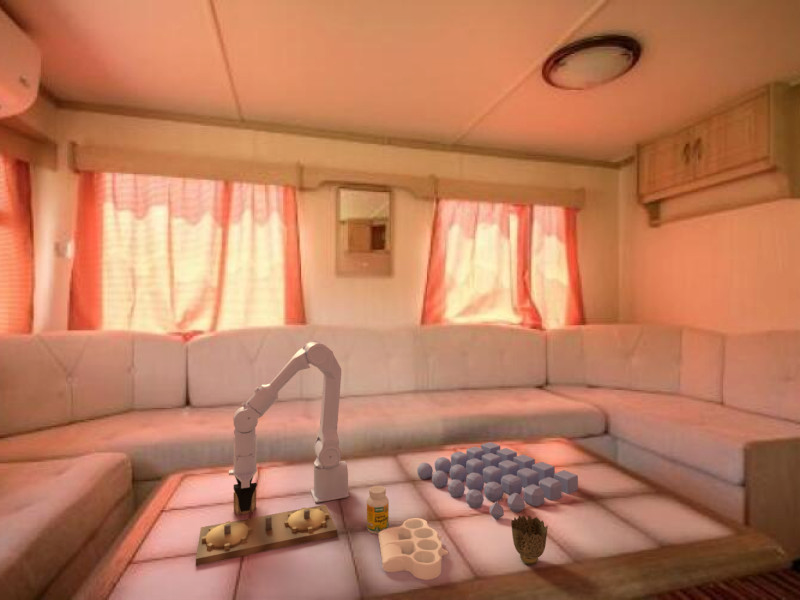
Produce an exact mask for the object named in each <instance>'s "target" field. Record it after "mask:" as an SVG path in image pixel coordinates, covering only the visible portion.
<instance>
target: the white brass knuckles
mask: <svg viewBox="0 0 800 600" xmlns="http://www.w3.org/2000/svg"><path fill="white" fill-rule="evenodd" d="M377 536H378V541H379V547H380V555H381V563H382V569H383V570H384V571H385V572H388V573H395V572H396V573H397V572H402V571H405V572H409V573H411V574H412V576H413V577H415V578H418V579H420V580H426V581H427V580H434V579H436V578H438V577H439V576H440V575H441V573H442V560H443V557H444V556H445V555H447V554H449V553H450V552H449V551H447V550H446V549H444V548H443V542H442V541H441V540H442V538H443V536H442V535H441V536H440V534H439V532H437V531H436V529H434V528H432V527H431V526H429V525H428V521H427V520H425V519H423V518H419V517H416V518H415V517H413V518H412V517H411V518H408V519H406V520H405V521H404V522H403V523H402V524H401V525H400V526H397V527H396V526H395V527H394V526H393V527H388V529H384V530H382V531H380V532H379V534H377Z"/></svg>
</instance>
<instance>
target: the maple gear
mask: <svg viewBox="0 0 800 600" xmlns="http://www.w3.org/2000/svg"><path fill="white" fill-rule="evenodd" d="M255 509H257V488H256V489H255V491H254V493H253V496H252V501H251V506H250V510H249V511H244V512H241V510H240V506H239V500H238V497H237V494H236V493H235V491H234V490H233V513H235V514H236V515H248V514H250V513H253V512H254V511H255Z"/></svg>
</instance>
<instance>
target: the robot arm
mask: <svg viewBox="0 0 800 600" xmlns="http://www.w3.org/2000/svg"><path fill="white" fill-rule="evenodd" d="M310 365H312V366H314V367H315V368H317V369H318V370H319V371H320V372H321V373H322V374H323V380H322V381H323V382H322V394H321V405H320V422H319V430H317V434H316V435H317V436H316V439H315V441H314V443H313V446H312V450H313V453H314V454H315V455H316V457H315V460H314V462H313V488H311V489H310V492H311V495H312V498H313V501H314V503H316V504H319V503H322V502H327V501H333V500H334V501H335V500H339V499H346V498H349V471H348V470H349V469H348V464H347V462H346V461H345V460H341V458H342V452H341V449H340V446H339V442H340V441H339V434H338V421H339V408H340V396H341V395H340V394H341V384H342V383H341V382H342V367H341V365H340V364H339V362H338V359H337V358H336V356H335V354H334V352H333V350H331V349H330V348H329V347H328V346H326V345H325V344H323V343H321V342H320V341H317V340H310V341H308V342H307V343H305V344H304V346H303V347H301V348H300V349H299V350H297V352H296V353H295V354H294V355H293V356H292V357H291V358H290V360H288V362H287V363H286V364H285V365H284V366H283V368H282V369H281V370H280V371H279V372H278V373H277V375H275V377H274V378H273V379H272V380H271V382H269V383H267V384H261V386H260V387H259V386H257V387H256V388H254V390H253V391H254V393H253V394H252V396H250V397H249V399H247V400H246V402H245V401H244V402H242V403H241V407H238V408H237V410H236V411H235V412H234V415H233V417H232V420H233V426H234V429H233V435H234V436H233V469H229V470H228V476H233V477H234V478H235V480H236V484H233V492H234V491H235V493H236V494H237V497H238V500H239V506H240V510H241V512H244V511H249V510H250V506H251V501H252V496H253V493H254V491H255V489H256V490H257V485H258V483H257V482H253V478H254V476H255V475H256V473H257V472H258V467H257V433H256V428H257V425H258V421H259V420H258V419H259V418H261V417H264V416H263V415H265V414H266V412H268V410H269V409H271V407H272V406H273V405H274V404H275V402H276V401H277V400H279V392H280V391H281V389H283V388H284V386H285V385H287V383H288V382H289V381H290V380H291V379H292V378H293V377H294V376H295V375H296V374H297V373H298V372H299V371H303V370H307V369H310V368H311V366H310Z"/></svg>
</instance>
